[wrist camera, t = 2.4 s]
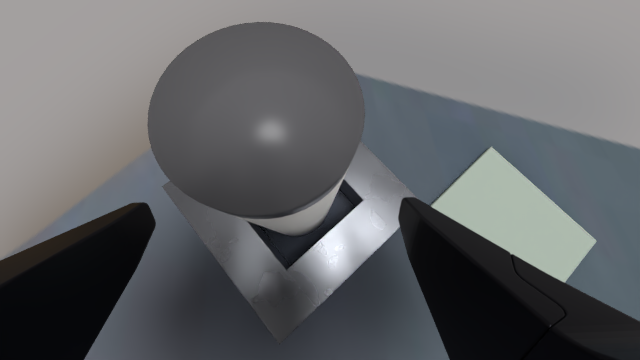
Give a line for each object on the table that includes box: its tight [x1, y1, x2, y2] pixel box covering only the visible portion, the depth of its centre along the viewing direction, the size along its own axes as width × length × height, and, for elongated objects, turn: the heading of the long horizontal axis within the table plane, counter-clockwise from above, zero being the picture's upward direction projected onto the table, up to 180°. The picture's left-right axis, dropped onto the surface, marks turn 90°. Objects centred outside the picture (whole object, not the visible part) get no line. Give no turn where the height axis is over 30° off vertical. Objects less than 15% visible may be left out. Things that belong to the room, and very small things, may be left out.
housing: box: [162, 141, 418, 345], centre depth 17 cm, size 12×12×3 cm
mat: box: [430, 147, 596, 283], centre depth 18 cm, size 10×10×1 cm
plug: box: [148, 22, 365, 236], centre depth 12 cm, size 5×5×13 cm
